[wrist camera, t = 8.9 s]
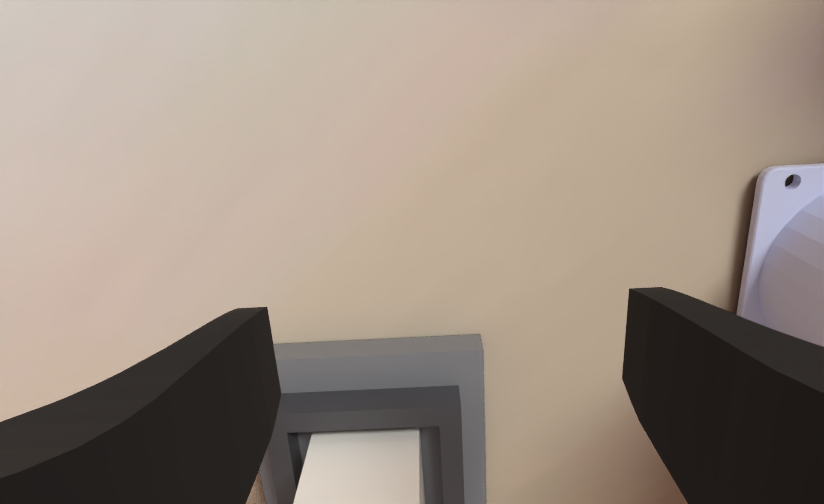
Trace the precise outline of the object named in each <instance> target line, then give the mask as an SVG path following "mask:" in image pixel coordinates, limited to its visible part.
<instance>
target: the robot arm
mask: <svg viewBox="0 0 824 504" xmlns="http://www.w3.org/2000/svg"><path fill="white" fill-rule="evenodd" d="M790 175H793V177H794V179H793V182H792V183H791V184H790V185H789V186H786V187H785V181H786V178H788V177H789V176H790ZM622 379H623V382H624V384H625V387H626V390H627V392H628V395H629V397H630V400H631V403H632V405H633V407H634V410H635V412H636V414H637V417H638V419H639V421H640V423H641V425H642V426H643V428H644V430H645V432H646V433H647V435H648V437H649V439H650V440H651V442H652V444H653V445H654V447H655V449H656V451H657V452H658V454H659V456H660V457H661V459H662V461H663V462H664V464H665V466H666V467H667V469H668V471H669V472H670V474H671V476H672V477H673V479H674V481H675V482H676V484H677V486H678V487H679V489H680V491H681V493H682V494H683V496H684V498H685V499H686V501H687V503H688V504H824V163H817V164H799V165H782V166H772V167H768V168H766V169H765V170H763V171H762V172H761V173H760V175H759V176H758V179H757V183H756V189H755V196H754V202H753V209H752V216H751V222H750V229H749V235H748V242H747V248H746V255H745V261H744V268H743V275H742V281H741V288H740V294H739V301H738V307H737V314H733V313H731V312H728V311H726V310H723V309H721V308H718V307H716V306H713V305H711V304H708V303H706V302H703V301H701V300H699V299H696V298H693V297H691V296H688V295H685V294H683V293H680V292H677V291H674V290H671V289H667V288H663V287H653V288H634V289H629V298H628V311H627V324H626V337H625V349H624V362H623V375H622ZM280 398H281V388H280V382H279V376H278V370H277V364H276V358H275V352H274V346H273V340H272V333H271V327H270V321H269V315H268V309H267V307H257V308H237V309H235V310H232V311H230V312H228V313H225V314H224V315H222V316H220V317H218V318H216V319H214V320H213V321H211V322H209V323H207V324H206V325H204V326H202V327H201V328H199V329H197V330H195V331H194V332H192V333H190V334H189V335H187V336H185V337H184V338H182V339H180V340H178V341H177V342H175V343H173V344H172V345H170V346H168V347H167V348H165V349H163V350H161V351H159V352H157V353H156V354H154V355H152V356H150V357H148V358H146V359H145V360H143V361H141V362H139V363H137V364H135V365H133V366H132V367H130V368H128V369H126V370H124V371H122V372H121V373H119V374H117V375H114V376H112V377H110V378H108V379H106V380H104V381H102V382H100V383H98V384H96V385H94V386H91V387H89V388H87V389H84V390H82V391H80V392H78V393H75V394H73V395H71V396H68V397H66V398H64V399H61V400H59V401H56V402H54V403H51V404H49V405H46V406H43V407H40V408H38V409H35V410H32V411H29V412H27V413H24V414H21V415H19V416H16V417H13V418H10V419H8V420H5V421H2V422H0V504H246V501H247V499H248V496H249V494H250V491H251V488H252V486H253V483H254V481H255V478H256V476H257V473H258V471H259V468H260V466H261V463H262V461H263V458H264V455H265V453H266V450H267V448H268V445H269V442H270V440H271V437H272V433H273V429H274V425H275V421H276V417H277V412H278V408H279V403H280Z"/></svg>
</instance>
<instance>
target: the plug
mask: <svg viewBox="0 0 824 504" xmlns="http://www.w3.org/2000/svg"><path fill="white" fill-rule="evenodd" d="M293 504H425V492H424V479H423V465H422V451H421V437H420V427H406V428H383V429H360V430H338V431H315V432H312V436H311V439H310V443H309V447H308V451H307V454H306V458H305V462H304V465H303V469H302V473H301V477H300V480H299V484H298V488H297V491H296V495H295V499H294V503H293Z"/></svg>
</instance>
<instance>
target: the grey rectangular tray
mask: <svg viewBox="0 0 824 504" xmlns="http://www.w3.org/2000/svg"><path fill="white" fill-rule="evenodd" d="M273 346H274V352H275V358H276V364H277V370H278V376H279V382H280V388H281V398H280V403H279V408H278V412H277V417H276V421H275V425H274V429H273V433H272V437H271V440H270V442H269V445H268V448H267V450H266V453H265V455H264V458H263V461H262V463H261V466H260V468H259V470H260V475H261V480H262V486H263V491H264V496H265V502H266V504H293V503H294V499H295V495H296V491H297V488H298V484H299V480H300V477H301V473H302V469H303V465H304V462H305V458H306V454H307V451H308V447H309V443H310V439H311V436H312V432H315V431H338V430H360V429H383V428H406V427H420V437H421V451H422V465H423V479H424V492H425V504H486V456H485V402H484V350H483V345H482V340H481V336H480V334H472V335H451V336H430V337H410V338H389V339H368V340H348V341H327V342H306V343H286V344H273Z"/></svg>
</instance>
